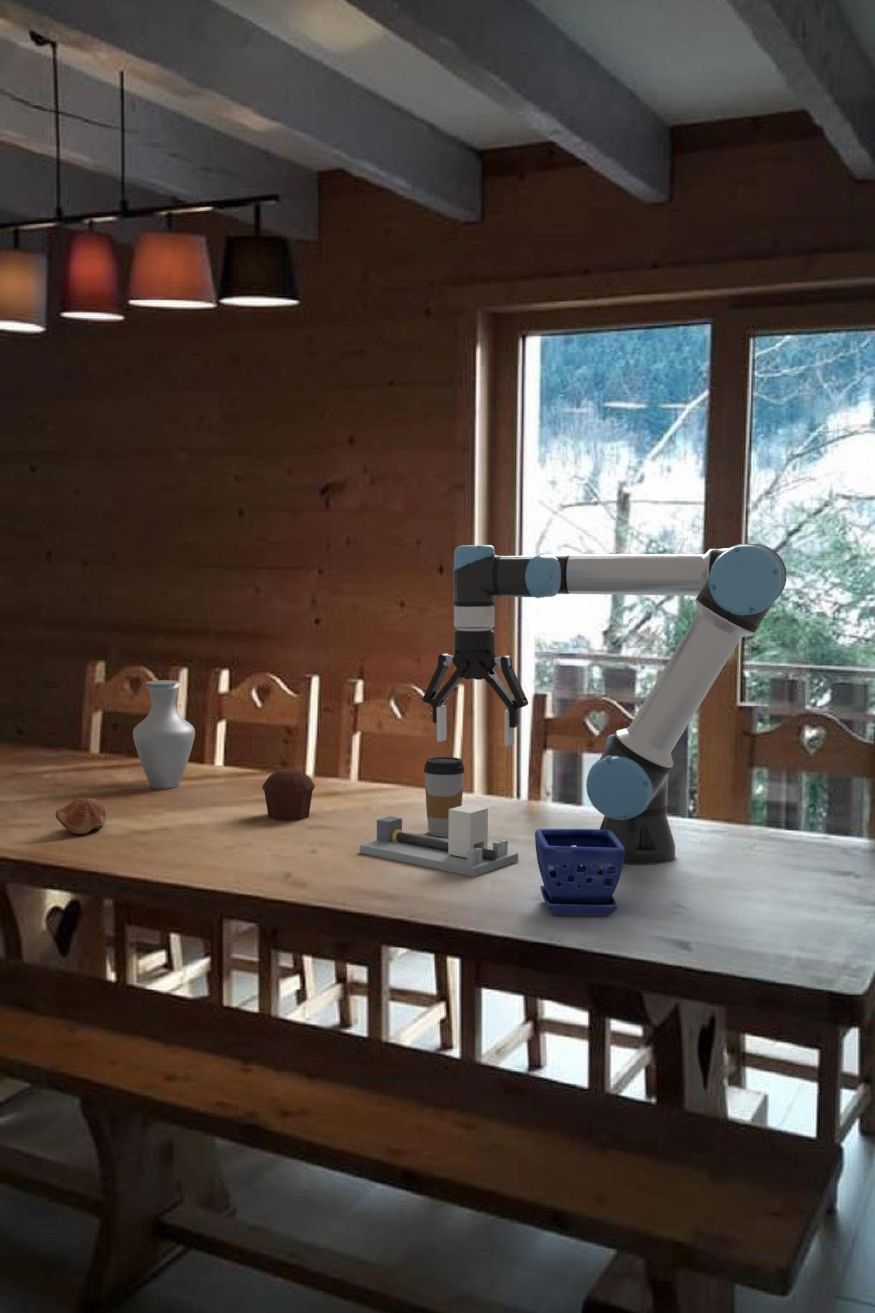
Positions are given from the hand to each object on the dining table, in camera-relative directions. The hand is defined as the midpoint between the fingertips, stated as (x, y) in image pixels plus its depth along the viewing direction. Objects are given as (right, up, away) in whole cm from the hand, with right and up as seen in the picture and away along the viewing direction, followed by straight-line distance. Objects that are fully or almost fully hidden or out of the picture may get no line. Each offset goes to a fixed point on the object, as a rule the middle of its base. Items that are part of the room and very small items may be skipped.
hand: (475, 743), depth 242 cm
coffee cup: (-6, -20, +23) cm, 31 cm away
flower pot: (+16, -25, -29) cm, 42 cm away
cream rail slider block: (-1, -20, -1) cm, 20 cm away
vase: (-72, -15, +68) cm, 100 cm away
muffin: (-39, -18, +37) cm, 57 cm away
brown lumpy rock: (-79, -20, +22) cm, 84 cm away
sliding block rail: (-7, -22, +3) cm, 23 cm away
